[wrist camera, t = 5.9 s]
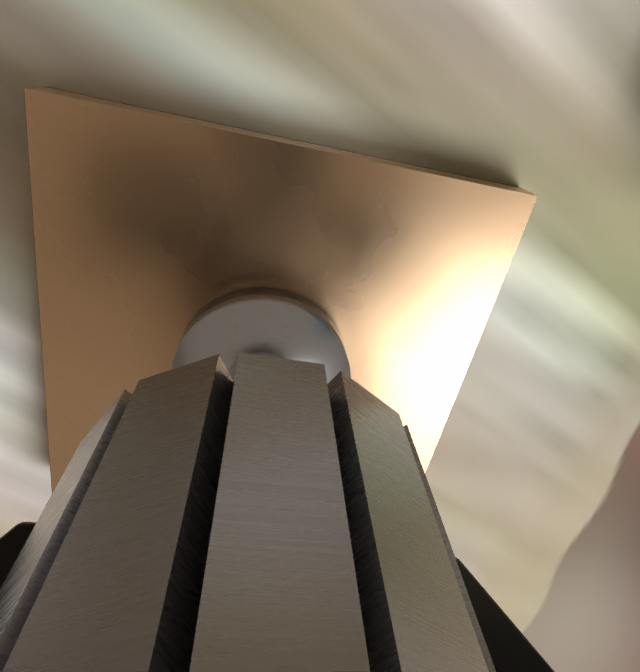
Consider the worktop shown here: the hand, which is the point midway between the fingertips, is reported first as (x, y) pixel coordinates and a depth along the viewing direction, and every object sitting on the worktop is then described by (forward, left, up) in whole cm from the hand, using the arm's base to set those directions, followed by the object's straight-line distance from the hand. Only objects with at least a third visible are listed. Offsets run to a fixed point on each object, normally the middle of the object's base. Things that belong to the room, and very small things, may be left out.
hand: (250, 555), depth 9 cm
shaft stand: (0, 0, -7) cm, 7 cm away
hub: (0, 0, -1) cm, 1 cm away
